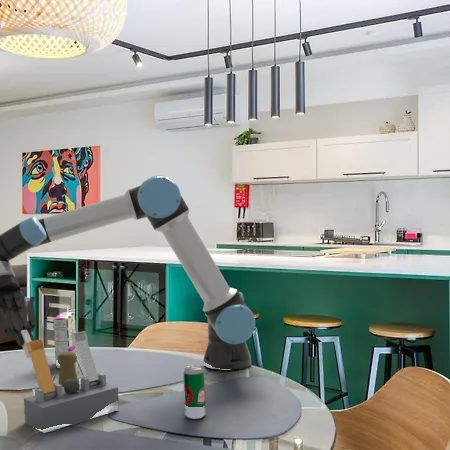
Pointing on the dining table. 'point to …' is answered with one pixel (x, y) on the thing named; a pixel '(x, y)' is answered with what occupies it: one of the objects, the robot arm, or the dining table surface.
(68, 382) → the button
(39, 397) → the console
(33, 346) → the orange lever
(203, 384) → the soda can
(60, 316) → the candy bar box
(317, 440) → the dining table surface
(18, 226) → the robot arm
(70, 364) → the cork
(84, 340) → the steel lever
